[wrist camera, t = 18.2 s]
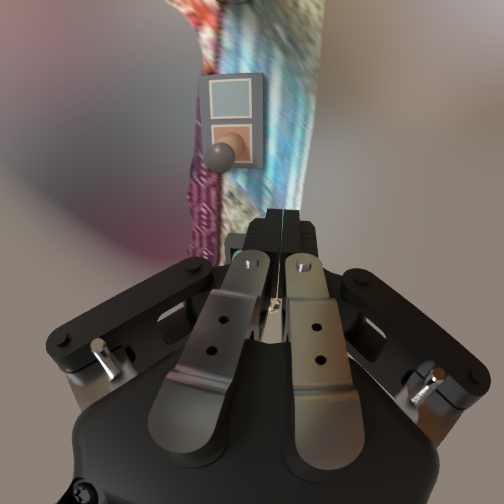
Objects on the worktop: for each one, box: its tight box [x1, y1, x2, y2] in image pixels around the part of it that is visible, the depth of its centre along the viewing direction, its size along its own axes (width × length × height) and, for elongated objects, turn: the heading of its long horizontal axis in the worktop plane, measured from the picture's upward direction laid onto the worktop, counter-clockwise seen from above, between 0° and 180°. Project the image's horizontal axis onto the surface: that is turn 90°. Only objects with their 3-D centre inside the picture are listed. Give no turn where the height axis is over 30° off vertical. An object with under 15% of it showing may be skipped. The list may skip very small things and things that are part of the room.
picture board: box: [199, 73, 264, 168], centre depth 40 cm, size 16×10×1 cm, turn 1°
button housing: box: [224, 233, 246, 265], centre depth 53 cm, size 7×7×4 cm
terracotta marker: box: [204, 132, 244, 173], centre depth 38 cm, size 4×4×9 cm
